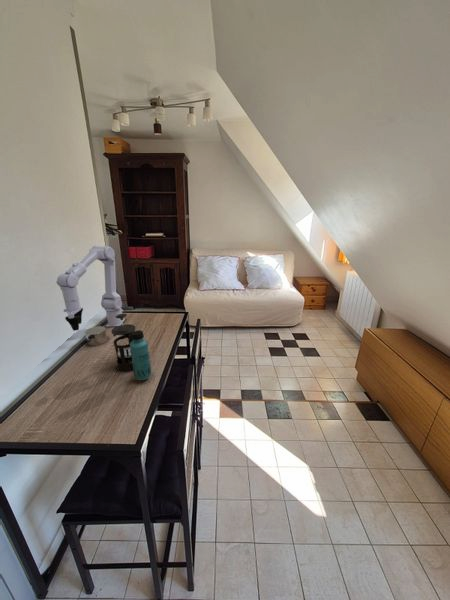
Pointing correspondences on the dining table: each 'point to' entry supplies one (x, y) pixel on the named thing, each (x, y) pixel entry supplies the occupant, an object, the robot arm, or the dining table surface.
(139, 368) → the beverage bottle
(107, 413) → the dining table surface
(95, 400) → the dining table surface
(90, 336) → the pot
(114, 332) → the french press
